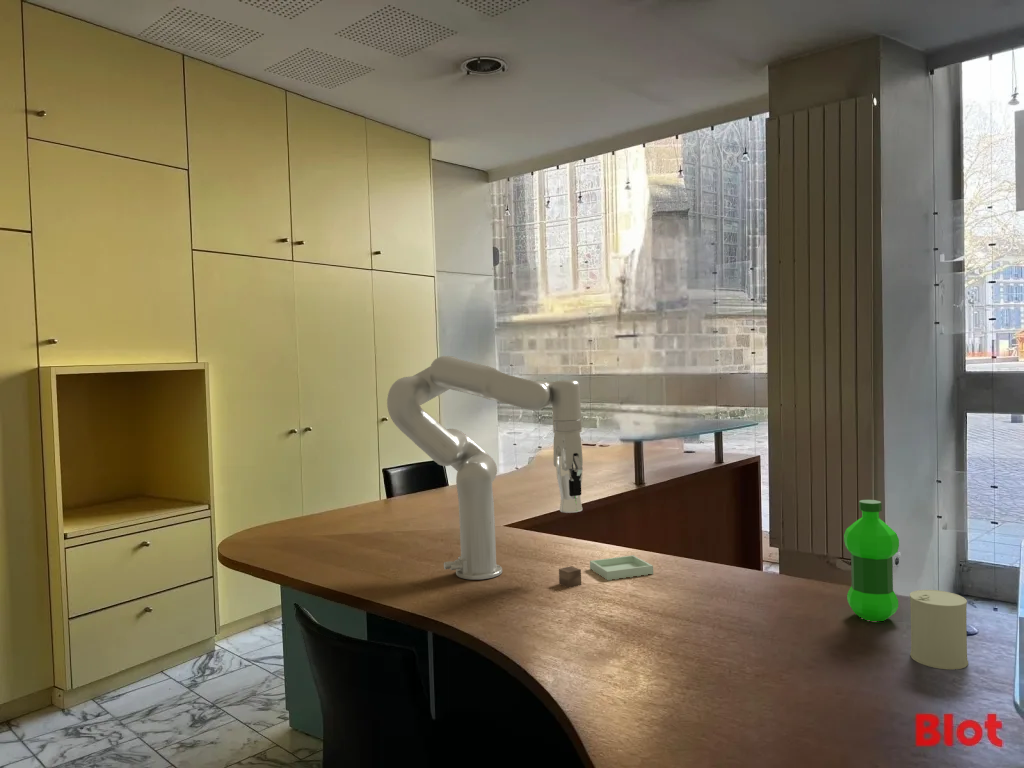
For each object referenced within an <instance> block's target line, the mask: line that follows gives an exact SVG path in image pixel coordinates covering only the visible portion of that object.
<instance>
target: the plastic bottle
mask: <svg viewBox="0 0 1024 768" xmlns="http://www.w3.org/2000/svg"><path fill="white" fill-rule="evenodd" d="M858 506H859V507H858V509H859V511H861V517H860V518H858V519H857V520H856V521H854V522H853V523H852V524H851V525H849V526H848V527H847V528H846V529H845V532H844V534H843V542H844V545H845V549H847V551H848V552H849V553H850V560H851V561H850V568H851V569H850V570H851V572H850V573H851V576H850V577H851V586H850V588H849V589H848V591H847V594H846V597H847V598H846V599H847V603H848V605H849V607H850V608H851V610H852V612H853V613H854V614H856V616H858V617H859V618H860V617H861V618H863V619H865V620H870V621H884V620H886V619H889V618H891V616H893V615H894V614H895V613H896V612H897V611H898V608H899V600H898V597H897V595H896V593H895V592H894V581H893V580H894V576H893V571H894V569H893V557H894V556H895V555H896V554H897V553H898V552H899V551H898V550H899V549H900V538H899V537H898V534H897V532H896V531H894V530H893V529H892V528H891V527H890V526H889V525H888V524H887V523H886V522H884V521H883V520H882V519H881V518H880V512H882V510H883V509H882V501H880V500H876V499H861V500H859V501H858ZM861 618H860V619H861ZM863 619H862V620H863ZM865 620H864V621H865ZM886 621H887V620H886ZM884 622H885V621H884Z"/></svg>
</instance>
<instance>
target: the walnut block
mask: <svg viewBox="0 0 1024 768" xmlns="http://www.w3.org/2000/svg"><path fill="white" fill-rule="evenodd" d="M558 580H559V581H558V583H559V585H560V584H561V586H562V587H565V586H566V587H565V588H567V589H570V588H569V587H571V588H574V586H575V587H578V585H579V586H582V569H580V568H578V567H575V566H571V565H570V566H567V567H562V568H558Z"/></svg>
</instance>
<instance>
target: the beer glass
mask: <svg viewBox="0 0 1024 768" xmlns="http://www.w3.org/2000/svg"><path fill="white" fill-rule="evenodd" d="M556 456H557V458H556V467H555V472H556V479H557V485H558V488H559V489H558V490H560V491H559V494H560V502H559V503H560V504H559V511H560V512H561V513H566V514H568V513H569V514H571V513H572V514H573V513H578V512H582V511H583V505H582V500H581V495H579V496H570V495H569V481H570V477H569V469H568V470H567V471H564V470H563V469H562V462H561V456H558V455H556ZM574 468H576V467H575V464H574V462H573V463H572V466H571V469H574ZM574 472H575V471H572V474H574ZM582 482H583V471H582V472H581V485H582V484H583V483H582Z"/></svg>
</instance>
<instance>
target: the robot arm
mask: <svg viewBox="0 0 1024 768" xmlns="http://www.w3.org/2000/svg"><path fill="white" fill-rule="evenodd" d="M580 387H581V386H580V383H579V381H577V380H575V379H565V380H555V381H550V380H549V381H548V380H530V379H526V378H522V377H518V376H514V375H510V374H507V373H505V372H503V371H500V370H498V369H496V368H494V367H492V366H488V365H485V364H480V363H475V362H472V361H469V360H468V361H467V360H463V359H460V358H458V357H456V356H451V355H443V356H439V357H437V358H435V359H434V360H433V361H432V362H431V364H430V366H429V367H427V368H424V369H423V370H421V371H420V372H418V373H417V372H416V374H413V375H411V376H410V375H409V376H404V377H401V378H398V379H396V380H395V381H394V382H393V384H391V386H390V388H389V391H388V394H387V399H386V406H387V412H388V415H389V417H390V420H391V421H392V422H393V424H394V425H395V426H396V427H397V428H398V429H399V431H401V432H402V433H403V434H404V435H405V436H406V437H407V438H408V439H409V440H411V441H412V442H413V443H414V445H416V446H417V447H418V448H420V449H421V451H423V452H424V453H425V454H426V455H427V456H429V458H430V459H431V460H432V461H433V462H435V463H436V464H437V465H439V466H442V467H449V466H451V467H452V468H453V469H454V470H456V471H457V473H456V478H455V479H456V490H457V499H458V514H459V515H458V517H459V535H460V536H459V537H460V539H459V540H460V541H459V543H460V556H457V557H458V559H455V560H454V561H444V562H443V569H444V570H450V571H455V575H456V576H457V577H458V578H460V579H465V580H471V581H472V580H474V581H475V580H479V581H480V580H488V579H492V578H496V577H498V576H500V575H501V574H502V573H503V567H502V566H501V565H500V564H498V563H497V547H496V545H497V544H496V523H495V522H496V521H495V519H496V518H495V504H494V502H495V501H494V492H493V482H494V481H495V479H496V476H497V475H498V473H497V472H498V468H497V464H496V462H495V460H494V458H492V457H491V455H489V454H488V453H487V451H485V450H484V449H483V448H482V447H481V446H479V445H478V444H477V443H476V442H474V440H473V439H471V438H470V437H469V436H468V435H466V434H465V433H463V432H462V431H461V430H458V429H456V428H446V427H445V426H443V425H442V424H441V423H439V422H438V421H437V420H436V419H435V417H433V416H432V415H431V414H429V413H428V412H427V411H425V410H424V409H423V408H422V407H421V405H424V404H426V403H428V402H430V401H431V400H433V399H435V398H436V397H439V396H440V395H442V394H443V393H446V392H447V391H449V390H452V391H457V392H460V393H461V392H462V393H464V394H469V395H471V396H476V397H480V398H482V399H487V400H491V401H495V402H499V403H502V404H506V405H510V406H514V407H517V408H521V409H525V410H529V411H540V410H543V409H544V408H548V407H551V408H552V410H551V411H552V428H553V430H552V431H553V433H554V435H553V466H554V467H555V468H556V458H557V456H556V455H558V456H561V462H562V469H563V470H564V471H567V470H568V469H569V477H570V481H569V495H570V496H579V495H580V496H581V495H582V484H581V472H582V473H583V471H584V470H583V447H582V439H581V432H582V431H583V429H582V411H581V410H582V407H581V388H580ZM573 462H574V464H575V467H576V468H574V469H571V466H572V463H573ZM572 471H575V472H574V474H572ZM558 490H559V489H558ZM559 492H560V490H559Z"/></svg>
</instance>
